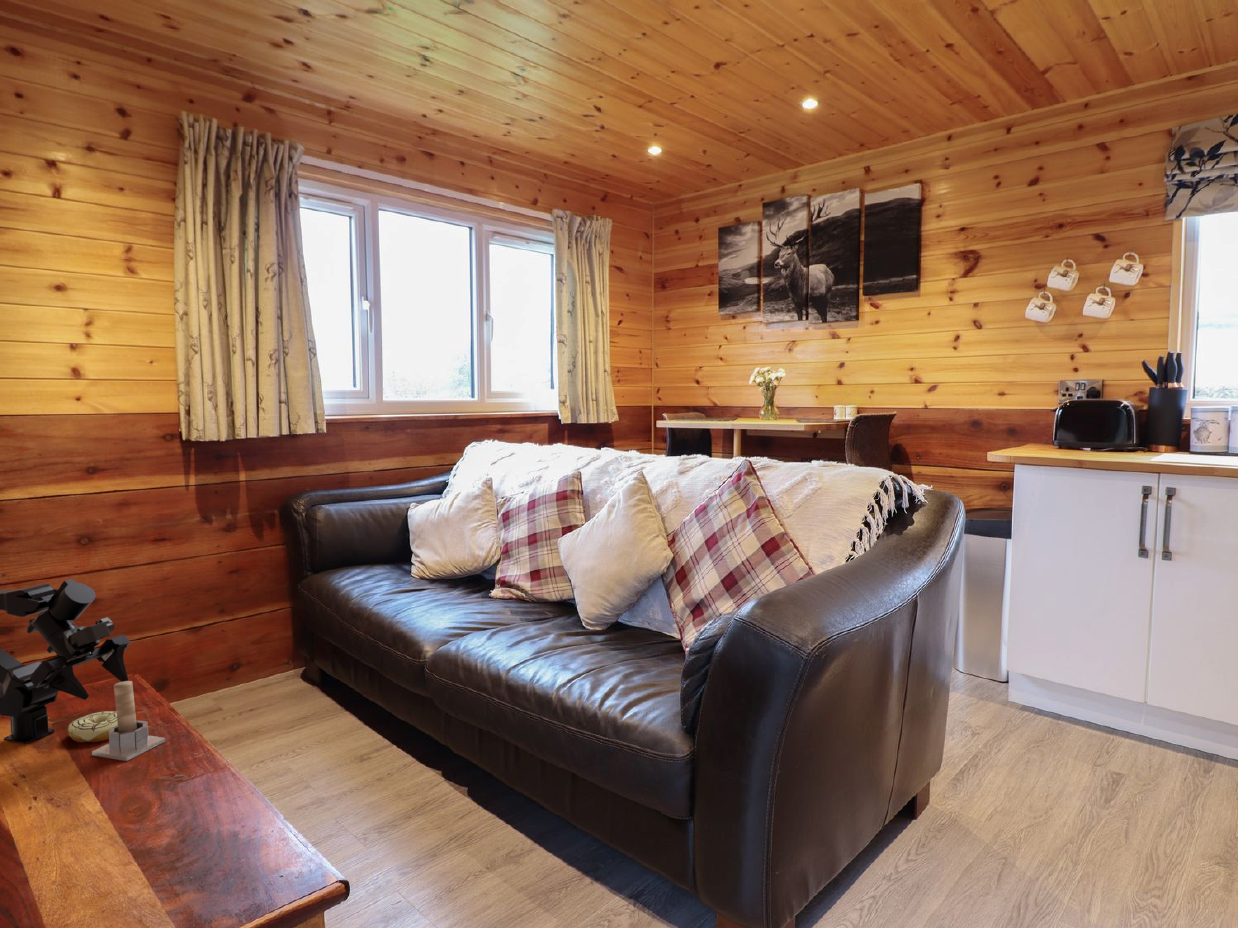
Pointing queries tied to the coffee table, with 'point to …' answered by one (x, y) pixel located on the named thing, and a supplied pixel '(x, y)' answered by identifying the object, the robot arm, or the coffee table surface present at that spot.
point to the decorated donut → (93, 727)
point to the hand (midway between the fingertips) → (107, 689)
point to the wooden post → (125, 706)
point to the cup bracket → (128, 743)
